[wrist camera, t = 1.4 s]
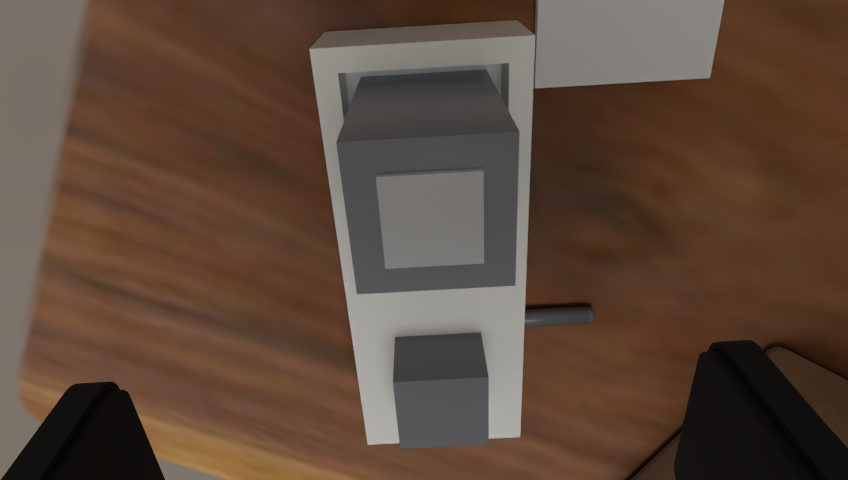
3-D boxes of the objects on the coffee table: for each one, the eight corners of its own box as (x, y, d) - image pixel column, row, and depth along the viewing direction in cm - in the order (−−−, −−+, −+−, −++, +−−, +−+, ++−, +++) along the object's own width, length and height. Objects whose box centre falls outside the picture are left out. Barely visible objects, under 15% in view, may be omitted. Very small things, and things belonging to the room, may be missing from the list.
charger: (486, 69, 22) (520, 133, 15) (486, 185, 25) (516, 289, 17) (360, 76, 22) (335, 144, 15) (373, 191, 25) (356, 297, 18)
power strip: (624, 13, 23) (700, 41, 17) (585, 379, 33) (624, 481, 27) (325, 31, 23) (293, 66, 17) (372, 390, 33) (363, 494, 27)
